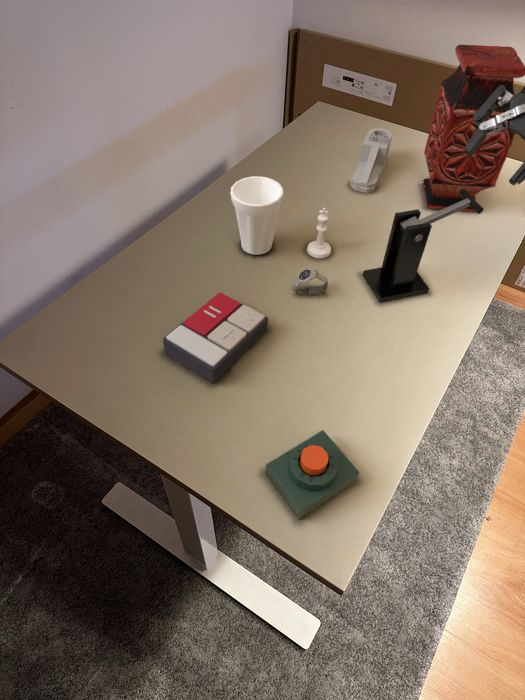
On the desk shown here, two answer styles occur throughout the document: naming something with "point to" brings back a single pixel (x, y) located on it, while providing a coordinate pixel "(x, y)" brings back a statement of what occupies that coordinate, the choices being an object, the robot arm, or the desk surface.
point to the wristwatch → (306, 278)
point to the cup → (257, 211)
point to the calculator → (215, 336)
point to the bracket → (401, 261)
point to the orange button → (314, 460)
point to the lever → (445, 211)
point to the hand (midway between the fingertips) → (489, 168)
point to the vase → (468, 125)
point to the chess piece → (320, 239)
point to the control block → (311, 476)
